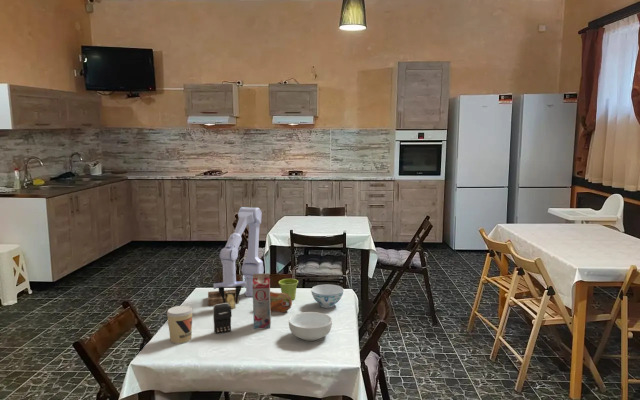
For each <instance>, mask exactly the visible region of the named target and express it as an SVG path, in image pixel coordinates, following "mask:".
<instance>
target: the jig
mask: <svg viewBox="0 0 640 400" xmlns="http://www.w3.org/2000/svg"><path fill="white" fill-rule="evenodd" d="M230 291H233V292H235V303H236V289H226V290H225V289H224V297H225V293H226V292H230ZM239 297H240V296H238V300H237V303H236V304H239V303H240V302H239V299H240V298H239ZM222 303H223V299H222V296H221V294H220V292H219V290H213V291H208V292H207V306H208V307H210V306H213V307H214V306H215V305H216V304H222ZM225 303H226V302H225Z"/></svg>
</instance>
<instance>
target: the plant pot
mask: <svg viewBox="0 0 640 400" xmlns="http://www.w3.org/2000/svg"><path fill="white" fill-rule="evenodd" d="M298 283H299V280H298V279H296V278H283V279H281V280H279V281H278V284H279V287H280V291H281V292H280V293H286V294H288V295H289V296H290V298H291V300H292V301H293V300H295V299H296V296H297V295H296V293H297V286H298Z"/></svg>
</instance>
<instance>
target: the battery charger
mask: <svg viewBox="0 0 640 400" xmlns="http://www.w3.org/2000/svg"><path fill="white" fill-rule="evenodd" d="M232 315H233V313H232V309H231V306H230V305H229V304H228V303H222V304H216V305H213V308H212V321H213V332H214V333H215V334H217V335H218V334H225V333H229V332H231V331H232Z"/></svg>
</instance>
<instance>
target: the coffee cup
mask: <svg viewBox="0 0 640 400" xmlns="http://www.w3.org/2000/svg"><path fill="white" fill-rule="evenodd" d="M166 315H167V323H168V331H169V333H168V334H169V338H170V342H171V343H172V344H176V345H179V344H181V345H182V344H185V343H188V342H189V341H191V340H192V337H193V336H192V335H193V334H192V332H193V330H192V328H193V308H192V306H188V305H175V306H172V307H170V308H168V309H167V312H166Z"/></svg>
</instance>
